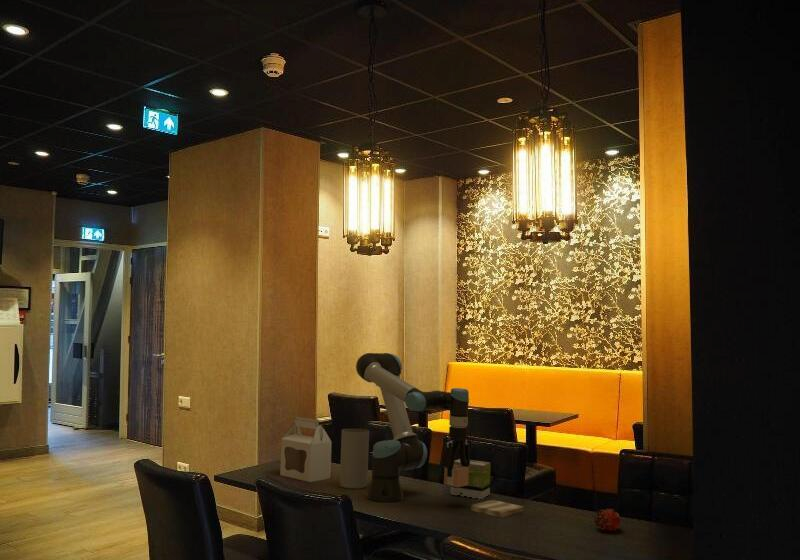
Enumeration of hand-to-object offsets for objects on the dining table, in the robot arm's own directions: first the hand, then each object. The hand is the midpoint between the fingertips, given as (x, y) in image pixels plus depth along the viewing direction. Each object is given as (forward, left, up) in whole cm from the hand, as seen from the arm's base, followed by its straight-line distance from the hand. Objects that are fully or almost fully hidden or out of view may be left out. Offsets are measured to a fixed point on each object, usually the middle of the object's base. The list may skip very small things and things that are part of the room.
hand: (456, 483), depth 274 cm
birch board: (+15, +7, -9) cm, 19 cm away
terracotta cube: (0, 0, 0) cm, 0 cm away
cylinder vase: (-55, -6, -9) cm, 56 cm away
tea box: (-9, +21, -9) cm, 25 cm away
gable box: (-85, -10, -9) cm, 86 cm away
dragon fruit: (+58, +15, -9) cm, 61 cm away
